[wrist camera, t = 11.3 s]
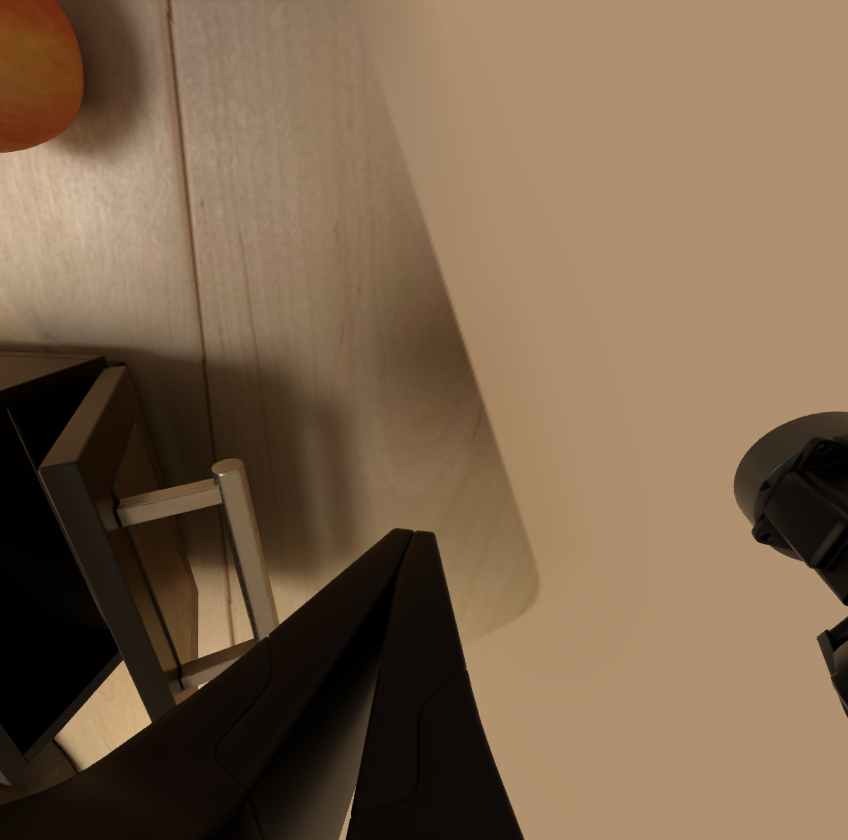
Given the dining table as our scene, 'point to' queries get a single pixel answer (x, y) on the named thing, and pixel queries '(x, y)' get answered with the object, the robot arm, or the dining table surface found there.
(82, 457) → the oven door
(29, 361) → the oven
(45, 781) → the coffee table
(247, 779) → the robot arm
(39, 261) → the dining table surface
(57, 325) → the dining table surface
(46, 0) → the apple
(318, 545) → the dining table surface
